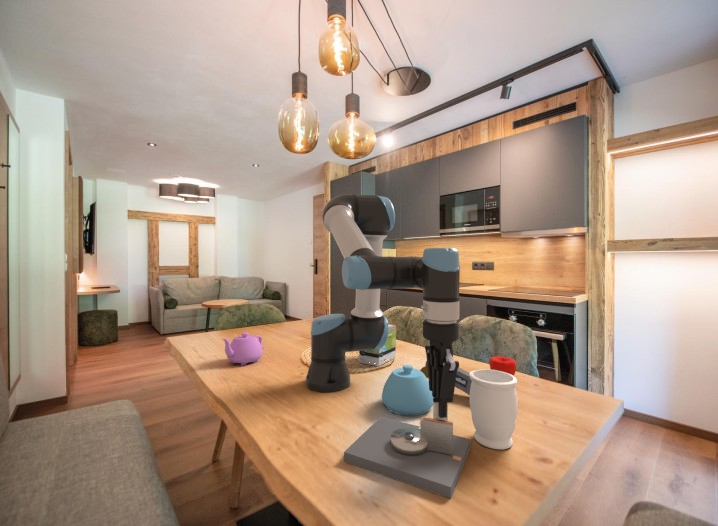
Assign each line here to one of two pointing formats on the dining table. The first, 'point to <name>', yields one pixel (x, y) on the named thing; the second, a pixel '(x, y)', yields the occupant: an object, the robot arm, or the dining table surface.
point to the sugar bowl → (407, 392)
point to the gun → (457, 379)
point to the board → (408, 459)
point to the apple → (503, 364)
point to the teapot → (244, 349)
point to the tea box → (381, 351)
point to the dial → (424, 438)
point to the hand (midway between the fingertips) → (440, 429)
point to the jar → (493, 407)
